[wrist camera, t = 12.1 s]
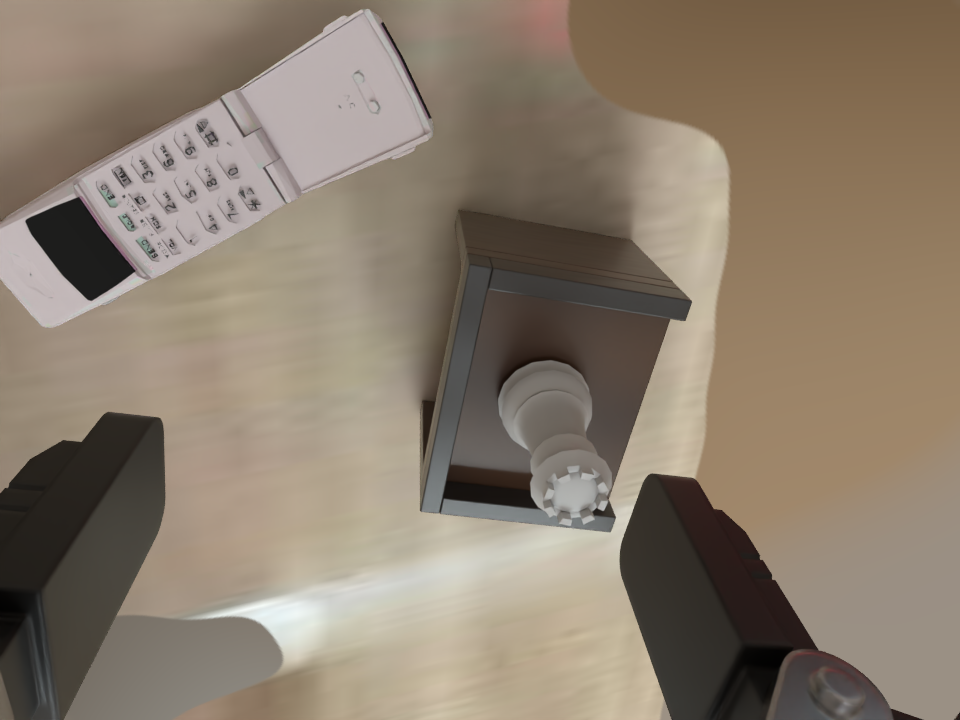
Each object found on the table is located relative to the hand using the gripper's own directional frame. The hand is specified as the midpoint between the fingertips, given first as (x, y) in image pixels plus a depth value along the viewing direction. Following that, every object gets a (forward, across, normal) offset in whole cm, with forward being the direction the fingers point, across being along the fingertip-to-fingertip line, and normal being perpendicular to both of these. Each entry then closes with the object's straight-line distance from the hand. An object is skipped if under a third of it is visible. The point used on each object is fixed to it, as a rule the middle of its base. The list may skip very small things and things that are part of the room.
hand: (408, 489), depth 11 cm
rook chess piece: (+19, -7, +8) cm, 22 cm away
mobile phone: (+27, +11, +3) cm, 30 cm away
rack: (+27, -7, +9) cm, 29 cm away
